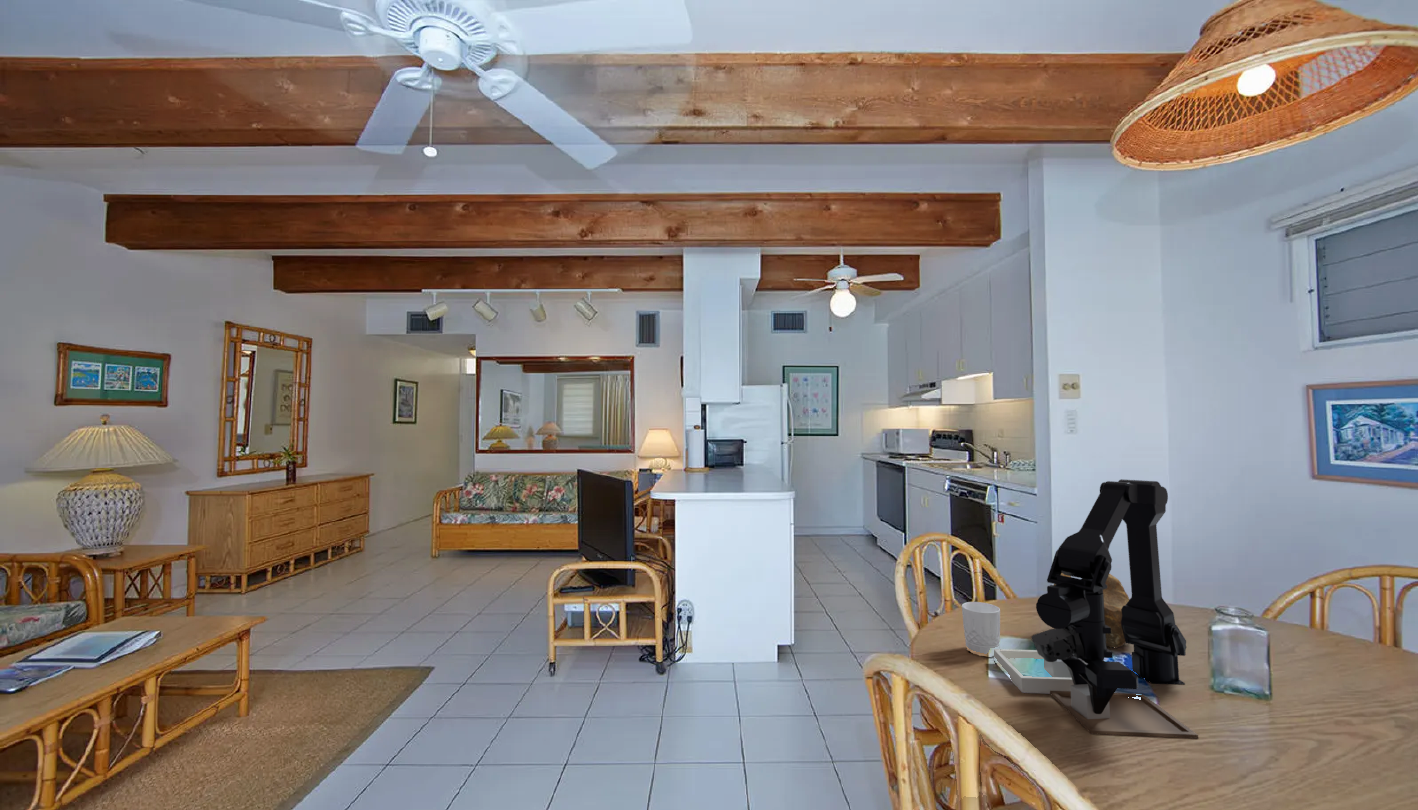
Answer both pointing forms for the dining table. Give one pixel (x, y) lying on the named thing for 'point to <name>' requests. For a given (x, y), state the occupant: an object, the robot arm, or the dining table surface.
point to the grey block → (1057, 669)
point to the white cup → (981, 626)
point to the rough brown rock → (1113, 610)
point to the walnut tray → (1129, 717)
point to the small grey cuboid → (1085, 702)
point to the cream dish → (1028, 682)
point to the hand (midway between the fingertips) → (1090, 706)
